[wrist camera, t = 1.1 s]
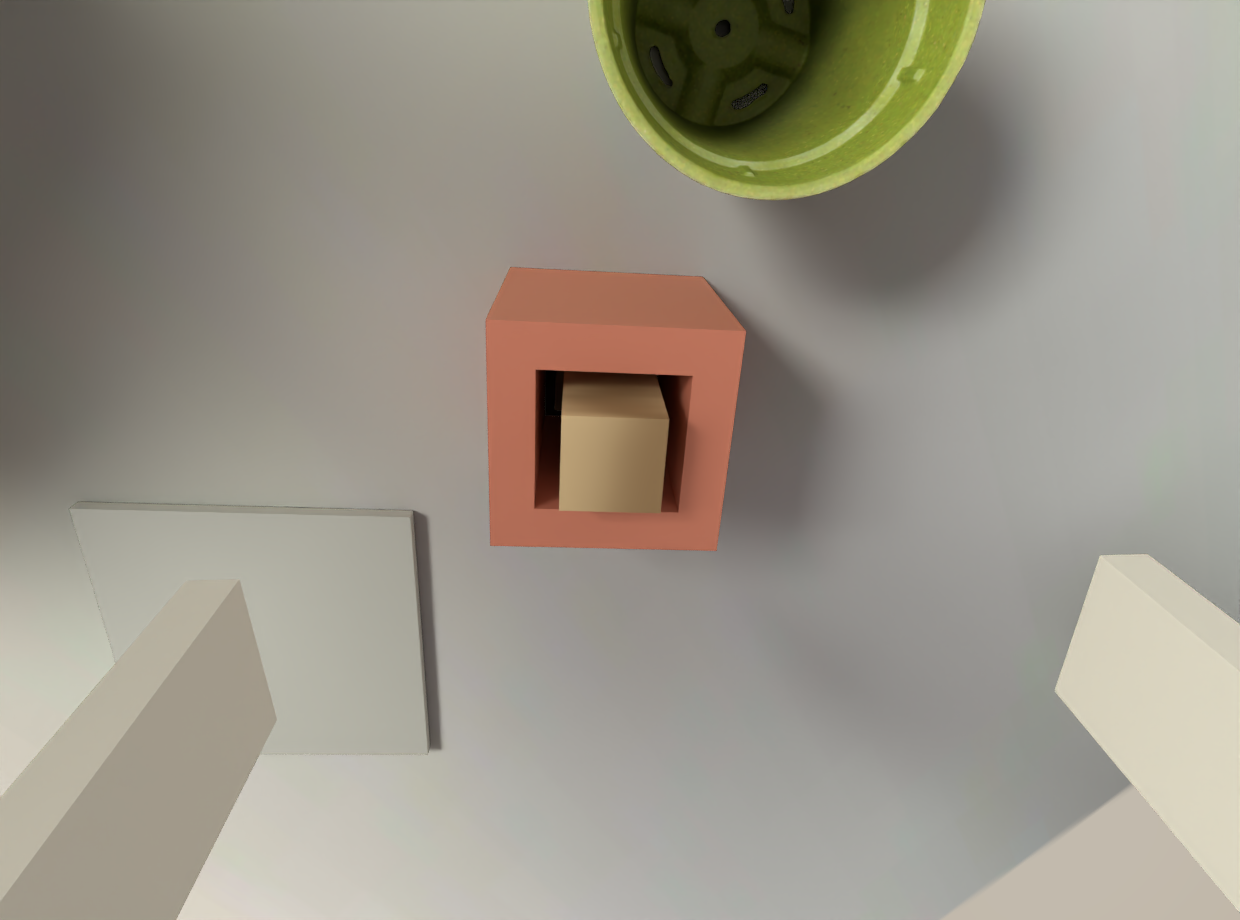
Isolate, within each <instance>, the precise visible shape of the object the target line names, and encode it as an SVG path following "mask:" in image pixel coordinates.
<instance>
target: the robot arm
mask: <svg viewBox="0 0 1240 920" xmlns="http://www.w3.org/2000/svg"><path fill="white" fill-rule="evenodd" d="M1055 692H1056V693H1057V695H1058V696H1059V697H1060V698H1061V699H1062V701H1063V702H1064V703H1065V704H1066V705H1067V707H1068V708H1069V709H1070V710H1071V711H1072V713H1073V714H1074V715H1075V716H1076V717H1077V719H1078V720H1079V721H1080V722H1081V723H1082V725H1083V726H1084V727H1085V728H1086V729H1087V731H1088V732H1089V733H1090V734H1091V735H1092V737H1093V738H1094V739H1095V740H1096V741H1097V743H1098V744H1099V745H1100V746H1101V747H1102V749H1103V750H1104V751H1105V752H1106V753H1107V755H1108V756H1109V757H1110V758H1111V759H1112V761H1113V762H1114V763H1115V764H1116V765H1117V767H1118V768H1119V769H1120V770H1121V771H1122V773H1123V774H1124V775H1125V776H1126V777H1127V779H1128V780H1129V781H1130V782H1131V783H1132V785H1133V786H1134V787H1135V788H1136V789H1137V790H1138V792H1139V793H1140V794H1141V795H1142V796H1143V798H1144V799H1145V800H1146V801H1147V802H1148V804H1149V805H1150V806H1151V807H1152V808H1153V810H1154V811H1155V812H1156V813H1157V814H1158V816H1159V817H1160V818H1161V819H1162V820H1163V822H1164V823H1165V824H1166V825H1167V826H1168V827H1169V829H1170V830H1171V831H1172V832H1173V834H1174V835H1175V836H1176V837H1177V838H1178V840H1179V841H1180V842H1181V843H1182V844H1183V846H1184V847H1185V848H1186V849H1187V850H1188V852H1189V853H1190V854H1191V855H1192V856H1193V857H1194V859H1195V860H1196V861H1197V862H1198V863H1199V865H1200V866H1201V867H1202V868H1203V870H1204V871H1205V872H1206V873H1207V874H1208V875H1209V877H1210V878H1211V879H1212V880H1213V882H1214V883H1215V884H1216V885H1217V886H1218V887H1219V889H1220V890H1221V891H1222V892H1223V894H1224V895H1225V896H1226V897H1227V898H1228V899H1229V901H1230V902H1231V903H1232V904H1233V906H1234V907H1235V908H1236V909H1237V910H1238V911H1239V913H1240V624H1239V623H1237V622H1236V621H1235V620H1233V619H1232V618H1231V617H1230V616H1228V615H1227V614H1226V613H1224V612H1223V611H1222V610H1220V609H1219V608H1218V607H1216V606H1215V605H1214V604H1212V603H1211V602H1210V601H1209V600H1207V599H1206V598H1205V597H1203V596H1202V595H1201V594H1199V593H1198V592H1197V591H1195V590H1194V589H1193V588H1191V587H1190V586H1189V585H1188V584H1186V583H1185V582H1184V581H1182V580H1181V579H1180V578H1178V577H1177V576H1176V575H1174V574H1173V573H1172V572H1170V571H1169V570H1168V569H1167V568H1165V567H1164V566H1163V565H1161V564H1160V563H1159V562H1157V561H1156V560H1155V559H1153V558H1152V557H1151V556H1149V555H1148V554H1129V555H1100V557H1099V560H1098V563H1097V566H1096V569H1095V572H1094V575H1093V578H1092V581H1091V584H1090V587H1089V590H1088V593H1087V596H1086V599H1085V602H1084V605H1083V608H1082V611H1081V614H1080V617H1079V619H1078V622H1077V625H1076V628H1075V631H1074V634H1073V637H1072V640H1071V643H1070V646H1069V649H1068V652H1067V655H1066V658H1065V661H1064V664H1063V667H1062V670H1061V673H1060V676H1059V679H1058V682H1057V685H1056V688H1055ZM276 721H277V717H276V713H275V709H274V706H273V702H272V698H271V695H270V691H269V687H268V683H267V680H266V676H265V672H264V669H263V665H262V661H261V657H260V654H259V650H258V646H257V642H256V639H255V635H254V631H253V628H252V624H251V620H250V616H249V613H248V609H247V605H246V601H245V598H244V594H243V590H242V587H241V583H240V579H226V580H190V581H185V583H184V584H183V585H182V586H181V587H180V588H179V590H178V591H177V592H176V593H175V594H174V595H173V597H172V598H171V599H170V600H169V601H168V602H167V604H166V605H165V606H164V607H163V608H162V609H161V611H160V612H159V613H158V614H157V615H156V616H155V618H154V619H153V620H152V621H151V622H150V623H149V625H148V626H147V627H146V628H145V629H144V630H143V632H142V633H141V634H140V635H139V636H138V637H137V639H136V640H135V641H134V642H133V643H132V645H131V646H130V647H129V648H128V649H127V650H126V652H125V653H124V654H123V655H122V656H121V657H120V659H119V660H118V661H117V662H116V663H115V664H114V666H113V667H112V668H111V669H110V670H109V671H108V673H107V674H106V675H105V676H104V677H103V678H102V680H101V681H100V682H99V683H98V684H97V685H96V687H95V688H94V689H93V690H92V691H91V692H90V694H89V695H88V696H87V697H86V698H85V699H84V701H83V702H82V703H81V704H80V705H79V706H78V708H77V709H76V710H75V711H74V712H73V713H72V715H71V716H70V717H69V718H68V719H67V720H66V722H65V723H64V724H63V725H62V726H61V727H60V729H59V730H58V731H57V732H56V733H55V734H54V736H53V737H52V738H51V739H50V740H49V742H48V743H47V744H46V745H45V746H44V747H43V749H42V750H41V751H40V752H39V753H38V754H37V756H36V757H35V758H34V759H33V760H32V761H31V763H30V764H29V765H28V766H27V767H26V768H25V770H24V771H23V772H22V773H21V774H20V775H19V777H18V778H17V779H16V780H15V781H14V782H13V784H12V785H11V786H10V787H9V788H8V789H7V791H6V792H5V793H4V794H3V795H2V796H1V798H0V920H176V919H177V917H178V915H179V913H180V911H181V909H182V907H183V905H184V903H185V901H186V899H187V897H188V895H189V893H190V891H191V889H192V887H193V885H194V883H195V881H196V879H197V877H198V875H199V873H200V871H201V869H202V867H203V865H204V863H205V861H206V860H207V858H208V856H209V854H210V852H211V850H212V848H213V846H214V844H215V842H216V840H217V838H218V836H219V834H220V832H221V830H222V828H223V826H224V824H225V822H226V820H227V818H228V816H229V814H230V812H231V810H232V808H233V806H234V804H235V802H236V800H237V798H238V796H239V794H240V792H241V790H242V788H243V786H244V784H245V782H246V780H247V778H248V776H249V774H250V772H251V770H252V768H253V766H254V764H255V762H256V760H257V759H258V757H259V755H260V753H261V751H262V749H263V747H264V745H265V743H266V741H267V739H268V737H269V735H270V733H271V731H272V729H273V727H274V725H275V723H276Z"/></svg>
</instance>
